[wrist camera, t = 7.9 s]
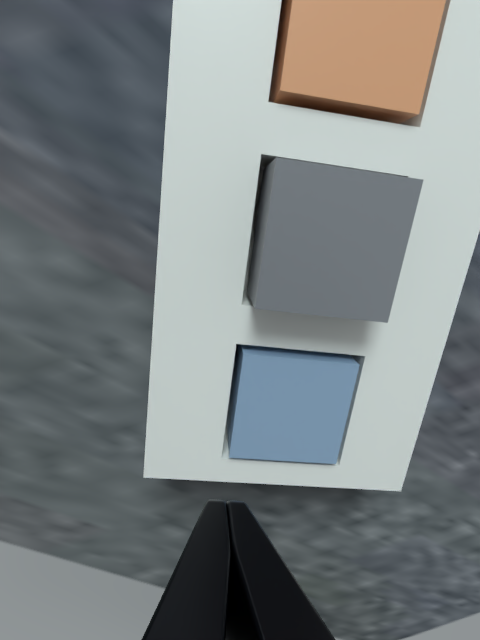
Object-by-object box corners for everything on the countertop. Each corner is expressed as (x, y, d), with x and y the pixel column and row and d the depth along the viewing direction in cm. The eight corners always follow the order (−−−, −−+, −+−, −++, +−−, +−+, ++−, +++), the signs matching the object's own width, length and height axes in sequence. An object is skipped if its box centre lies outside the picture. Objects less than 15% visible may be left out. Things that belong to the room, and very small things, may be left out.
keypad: (366, 440, 21) (400, 491, 17) (157, 425, 19) (143, 477, 16) (482, -12, 15) (576, -92, 11) (193, -75, 14) (185, -190, 10)
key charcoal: (355, 303, 16) (387, 322, 13) (246, 291, 15) (254, 308, 12) (380, 187, 14) (423, 179, 11) (263, 169, 14) (276, 157, 11)
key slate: (317, 425, 19) (336, 464, 16) (226, 419, 18) (229, 457, 15) (335, 340, 17) (359, 364, 14) (238, 330, 17) (243, 354, 14)
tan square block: (379, 133, 15) (419, 114, 12) (266, 115, 14) (280, 90, 11) (408, -4, 14) (460, -64, 11) (285, -30, 13) (306, -100, 10)
